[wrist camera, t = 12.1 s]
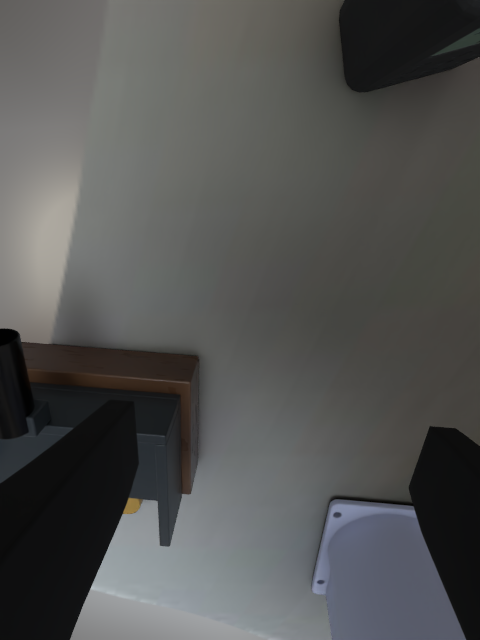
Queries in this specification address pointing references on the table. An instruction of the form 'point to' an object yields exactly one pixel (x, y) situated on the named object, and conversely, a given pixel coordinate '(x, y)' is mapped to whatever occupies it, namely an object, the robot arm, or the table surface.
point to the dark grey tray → (75, 406)
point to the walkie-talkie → (406, 39)
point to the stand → (126, 382)
